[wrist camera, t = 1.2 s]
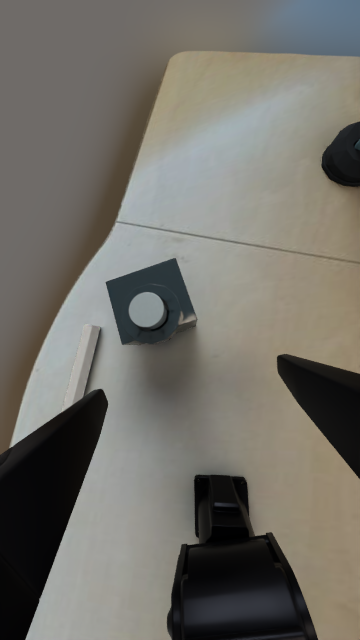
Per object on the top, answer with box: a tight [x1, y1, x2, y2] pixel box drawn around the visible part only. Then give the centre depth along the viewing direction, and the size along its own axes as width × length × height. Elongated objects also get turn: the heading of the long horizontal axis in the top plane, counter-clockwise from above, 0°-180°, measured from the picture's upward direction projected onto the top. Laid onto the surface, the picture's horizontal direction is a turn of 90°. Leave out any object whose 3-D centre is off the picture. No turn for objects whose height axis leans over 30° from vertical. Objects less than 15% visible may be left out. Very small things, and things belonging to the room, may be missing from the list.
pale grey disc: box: [129, 292, 167, 329], centre depth 17 cm, size 3×3×2 cm
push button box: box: [106, 258, 197, 345], centre depth 22 cm, size 9×9×8 cm
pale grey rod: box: [61, 324, 100, 412], centre depth 24 cm, size 3×2×16 cm
